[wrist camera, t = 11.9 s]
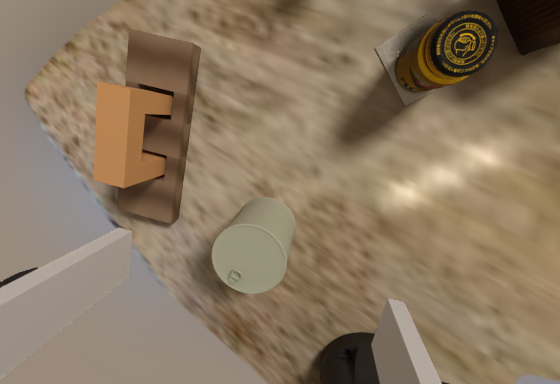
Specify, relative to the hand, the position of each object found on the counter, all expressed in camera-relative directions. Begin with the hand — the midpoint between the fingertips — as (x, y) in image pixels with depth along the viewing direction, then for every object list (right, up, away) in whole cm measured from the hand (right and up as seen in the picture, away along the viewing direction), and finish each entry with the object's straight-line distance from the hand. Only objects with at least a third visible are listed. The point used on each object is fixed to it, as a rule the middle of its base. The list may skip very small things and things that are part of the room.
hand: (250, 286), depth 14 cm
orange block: (-17, +14, +28) cm, 36 cm away
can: (-1, 0, +30) cm, 30 cm away
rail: (-17, +14, +28) cm, 36 cm away
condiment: (+19, +21, +21) cm, 36 cm away
